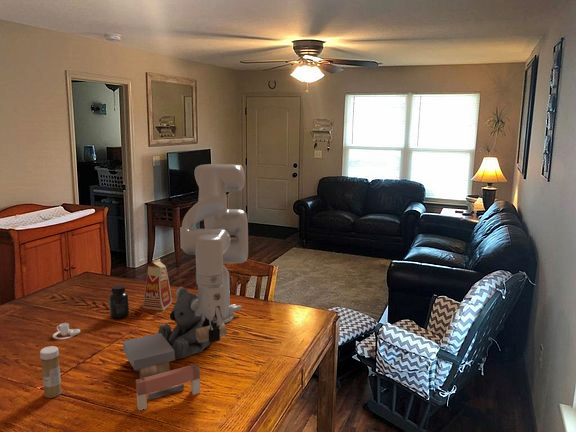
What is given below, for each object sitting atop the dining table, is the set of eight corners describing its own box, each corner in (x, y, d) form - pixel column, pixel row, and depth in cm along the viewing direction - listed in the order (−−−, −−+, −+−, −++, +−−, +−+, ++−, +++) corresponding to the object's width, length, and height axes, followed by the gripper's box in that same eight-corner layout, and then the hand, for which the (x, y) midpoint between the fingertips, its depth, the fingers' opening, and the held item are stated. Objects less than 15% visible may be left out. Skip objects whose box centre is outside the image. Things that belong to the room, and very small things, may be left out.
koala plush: (154, 342, 166) (152, 288, 162) (202, 329, 176) (201, 278, 172) (175, 363, 152) (173, 305, 148) (225, 348, 163) (224, 293, 159)
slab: (161, 341, 157) (160, 332, 157) (175, 360, 146) (174, 350, 145) (123, 350, 151) (122, 341, 151) (134, 370, 140) (133, 360, 139)
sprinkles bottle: (41, 394, 135) (36, 349, 132) (57, 387, 138) (53, 343, 135) (48, 400, 132) (44, 355, 129) (65, 393, 135) (61, 349, 132)
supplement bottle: (110, 314, 189) (108, 284, 186) (129, 312, 191) (127, 283, 188) (110, 321, 182) (108, 290, 180) (129, 318, 185) (127, 289, 182)
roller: (221, 333, 145) (220, 320, 144) (226, 338, 141) (226, 325, 140) (195, 339, 140) (195, 326, 140) (201, 344, 137) (200, 331, 136)
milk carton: (163, 310, 193) (161, 262, 189) (142, 308, 195) (139, 260, 191) (173, 302, 202) (171, 255, 198) (152, 300, 203) (150, 254, 199)
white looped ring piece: (84, 333, 173) (83, 322, 172) (65, 342, 166) (64, 331, 165) (66, 328, 176) (65, 318, 176) (47, 337, 169) (46, 326, 168)
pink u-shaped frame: (197, 389, 138) (196, 363, 136) (200, 392, 136) (199, 366, 135) (137, 407, 129) (135, 379, 128) (139, 411, 128) (137, 383, 126)
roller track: (157, 352, 159) (156, 340, 158) (183, 389, 138) (183, 376, 137) (126, 360, 154) (125, 348, 153) (148, 400, 132) (147, 386, 132)
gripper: (234, 284, 132) (235, 346, 136) (210, 268, 146) (211, 324, 150) (209, 289, 128) (210, 353, 132) (186, 272, 142) (188, 330, 146)
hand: (211, 337), depth 141 cm, fingers closed on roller, 4 cm apart
